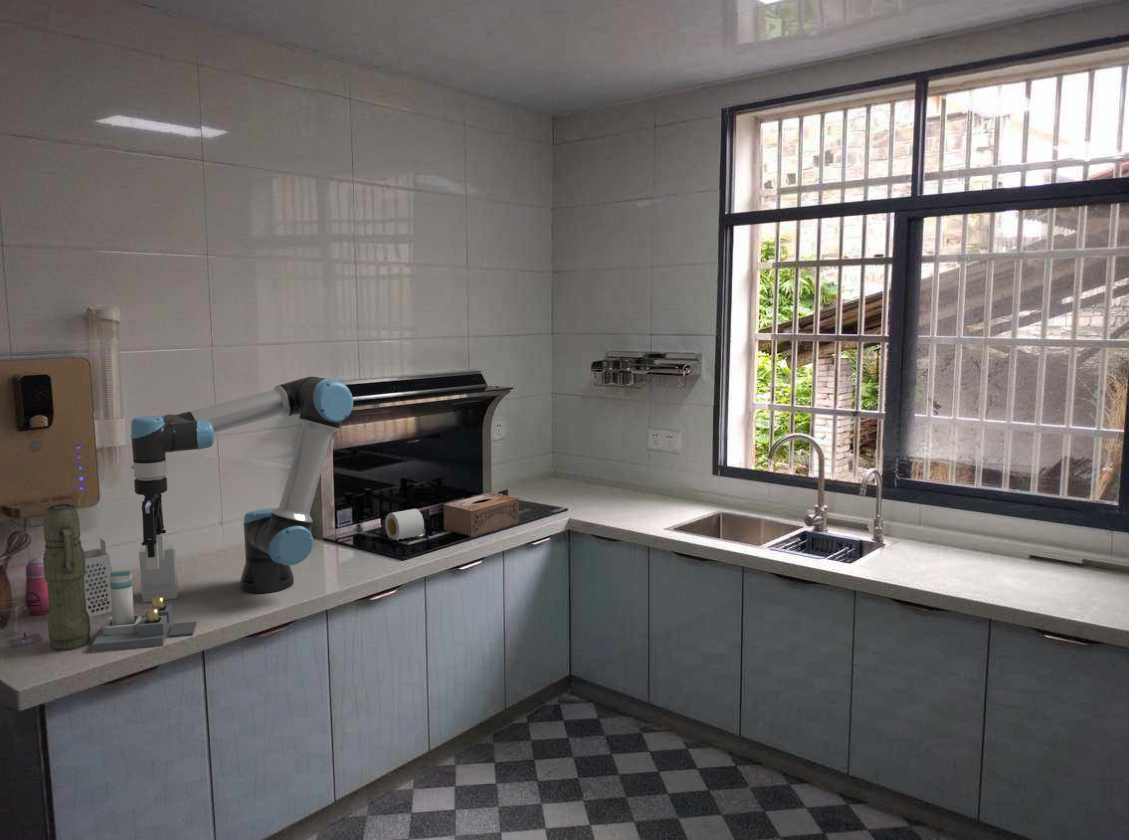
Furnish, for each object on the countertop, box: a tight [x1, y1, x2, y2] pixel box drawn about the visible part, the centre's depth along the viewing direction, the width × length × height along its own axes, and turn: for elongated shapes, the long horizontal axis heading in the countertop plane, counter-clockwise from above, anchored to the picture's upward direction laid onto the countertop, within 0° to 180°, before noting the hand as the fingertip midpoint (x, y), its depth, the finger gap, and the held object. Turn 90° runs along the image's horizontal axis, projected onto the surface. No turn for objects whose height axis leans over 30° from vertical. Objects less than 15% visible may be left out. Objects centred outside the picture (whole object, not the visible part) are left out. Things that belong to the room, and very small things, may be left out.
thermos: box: [42, 503, 91, 652], centre depth 207 cm, size 9×12×35 cm
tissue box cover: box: [443, 492, 520, 538], centre depth 321 cm, size 26×14×10 cm, turn 141°
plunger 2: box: [145, 607, 159, 624], centre depth 212 cm, size 3×3×4 cm
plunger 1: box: [151, 596, 165, 611], centre depth 220 cm, size 3×3×4 cm
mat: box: [168, 621, 198, 638], centre depth 219 cm, size 6×8×1 cm
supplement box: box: [138, 540, 179, 603], centre depth 243 cm, size 9×9×15 cm
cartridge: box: [110, 569, 135, 626], centre depth 214 cm, size 5×5×15 cm
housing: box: [91, 603, 174, 652], centre depth 215 cm, size 16×16×5 cm
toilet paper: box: [384, 508, 425, 541], centre depth 304 cm, size 10×10×10 cm
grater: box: [80, 535, 113, 618], centre depth 231 cm, size 10×10×20 cm
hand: (155, 563), depth 219 cm, fingers open, 8 cm apart
